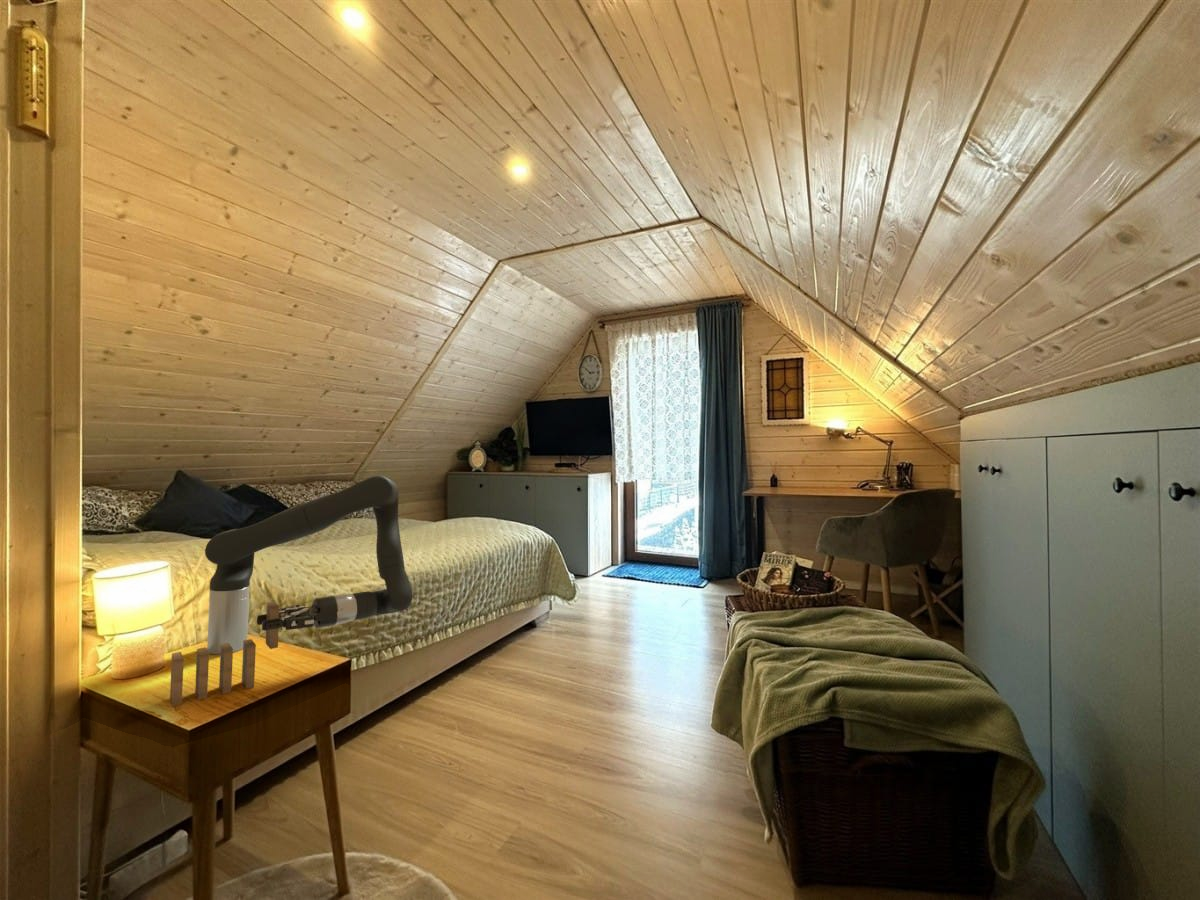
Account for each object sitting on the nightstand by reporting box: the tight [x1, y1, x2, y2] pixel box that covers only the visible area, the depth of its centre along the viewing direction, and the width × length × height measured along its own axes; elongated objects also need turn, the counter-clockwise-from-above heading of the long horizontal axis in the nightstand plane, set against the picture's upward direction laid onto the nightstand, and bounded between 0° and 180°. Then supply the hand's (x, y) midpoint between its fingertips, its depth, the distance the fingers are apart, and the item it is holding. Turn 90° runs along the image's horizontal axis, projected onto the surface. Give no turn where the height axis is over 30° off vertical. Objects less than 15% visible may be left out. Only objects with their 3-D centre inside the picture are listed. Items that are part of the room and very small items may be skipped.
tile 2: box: [241, 638, 257, 690], centre depth 126 cm, size 5×2×10 cm, turn 44°
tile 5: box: [169, 651, 184, 707], centre depth 117 cm, size 5×2×10 cm, turn 44°
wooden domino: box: [194, 646, 210, 701], centre depth 120 cm, size 5×2×10 cm, turn 44°
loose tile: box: [265, 601, 280, 650], centre depth 130 cm, size 5×2×10 cm, turn 44°
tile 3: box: [218, 643, 234, 695], centre depth 123 cm, size 5×2×10 cm, turn 44°
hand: (260, 623), depth 128 cm, fingers closed on loose tile, 5 cm apart
